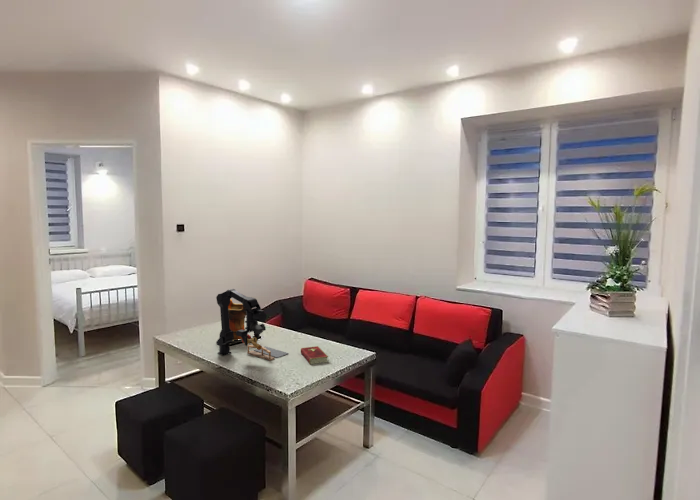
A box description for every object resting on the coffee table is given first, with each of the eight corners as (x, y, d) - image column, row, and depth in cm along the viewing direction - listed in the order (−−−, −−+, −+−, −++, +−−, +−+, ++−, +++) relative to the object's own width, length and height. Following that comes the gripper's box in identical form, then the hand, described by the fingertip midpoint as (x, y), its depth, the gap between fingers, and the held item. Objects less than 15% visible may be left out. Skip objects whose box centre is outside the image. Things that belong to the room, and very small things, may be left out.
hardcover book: (309, 365, 247) (309, 358, 247) (300, 353, 267) (300, 347, 266) (328, 362, 252) (328, 356, 251) (318, 351, 271) (318, 345, 271)
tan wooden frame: (247, 353, 264) (247, 345, 263) (252, 351, 267) (252, 343, 267) (269, 360, 252) (269, 352, 251) (274, 358, 255) (274, 350, 255)
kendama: (265, 350, 246) (250, 339, 258) (265, 341, 244) (249, 330, 256) (254, 355, 240) (239, 343, 253) (253, 345, 238) (238, 334, 251)
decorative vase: (250, 342, 285) (247, 303, 283) (217, 343, 286) (215, 304, 283) (257, 333, 306) (255, 297, 304) (227, 334, 306) (224, 298, 304)
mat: (253, 350, 269) (253, 350, 269) (265, 347, 277) (265, 346, 277) (277, 358, 256) (277, 357, 256) (288, 353, 265) (288, 353, 265)
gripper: (247, 324, 235) (248, 351, 237) (271, 318, 250) (271, 343, 252) (235, 321, 242) (235, 347, 243) (259, 315, 257) (259, 339, 258)
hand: (251, 344), depth 249 cm, fingers closed on kendama, 7 cm apart
